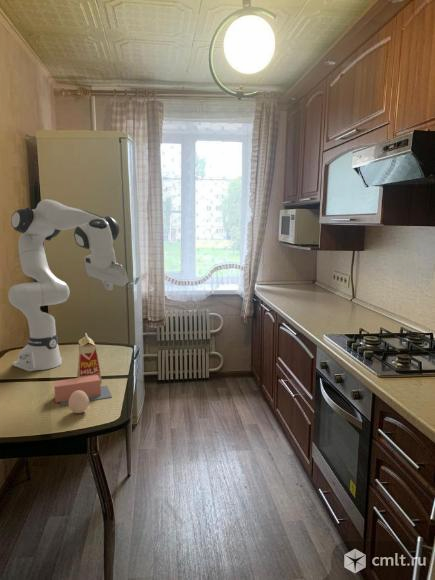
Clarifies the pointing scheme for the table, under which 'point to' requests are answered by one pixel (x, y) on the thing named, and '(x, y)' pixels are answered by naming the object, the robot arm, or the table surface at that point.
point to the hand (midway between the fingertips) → (109, 289)
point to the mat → (104, 394)
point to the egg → (78, 401)
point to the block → (77, 387)
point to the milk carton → (88, 359)
